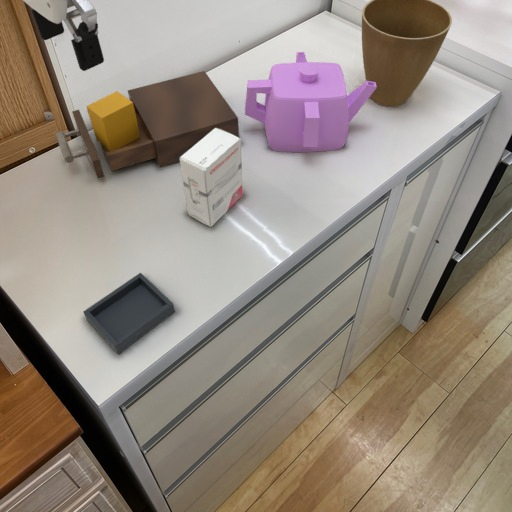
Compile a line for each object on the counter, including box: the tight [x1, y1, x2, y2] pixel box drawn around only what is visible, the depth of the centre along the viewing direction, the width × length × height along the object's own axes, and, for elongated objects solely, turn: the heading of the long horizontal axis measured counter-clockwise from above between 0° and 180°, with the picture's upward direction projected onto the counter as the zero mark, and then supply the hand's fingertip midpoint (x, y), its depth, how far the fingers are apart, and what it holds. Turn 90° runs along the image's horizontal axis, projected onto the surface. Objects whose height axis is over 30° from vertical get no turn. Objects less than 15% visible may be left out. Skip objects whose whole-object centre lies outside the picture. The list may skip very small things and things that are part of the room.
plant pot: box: [361, 0, 453, 108], centre depth 96 cm, size 15×15×16 cm
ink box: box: [179, 128, 243, 228], centre depth 79 cm, size 9×5×12 cm, turn 145°
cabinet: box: [127, 70, 240, 168], centre depth 94 cm, size 15×16×6 cm
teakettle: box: [244, 51, 377, 153], centre depth 91 cm, size 17×17×12 cm
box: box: [86, 90, 140, 151], centre depth 89 cm, size 6×4×7 cm
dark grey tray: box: [83, 272, 176, 355], centre depth 70 cm, size 9×7×2 cm
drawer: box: [55, 99, 157, 180], centre depth 90 cm, size 17×14×4 cm
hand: (72, 50), depth 69 cm, fingers open, 9 cm apart
